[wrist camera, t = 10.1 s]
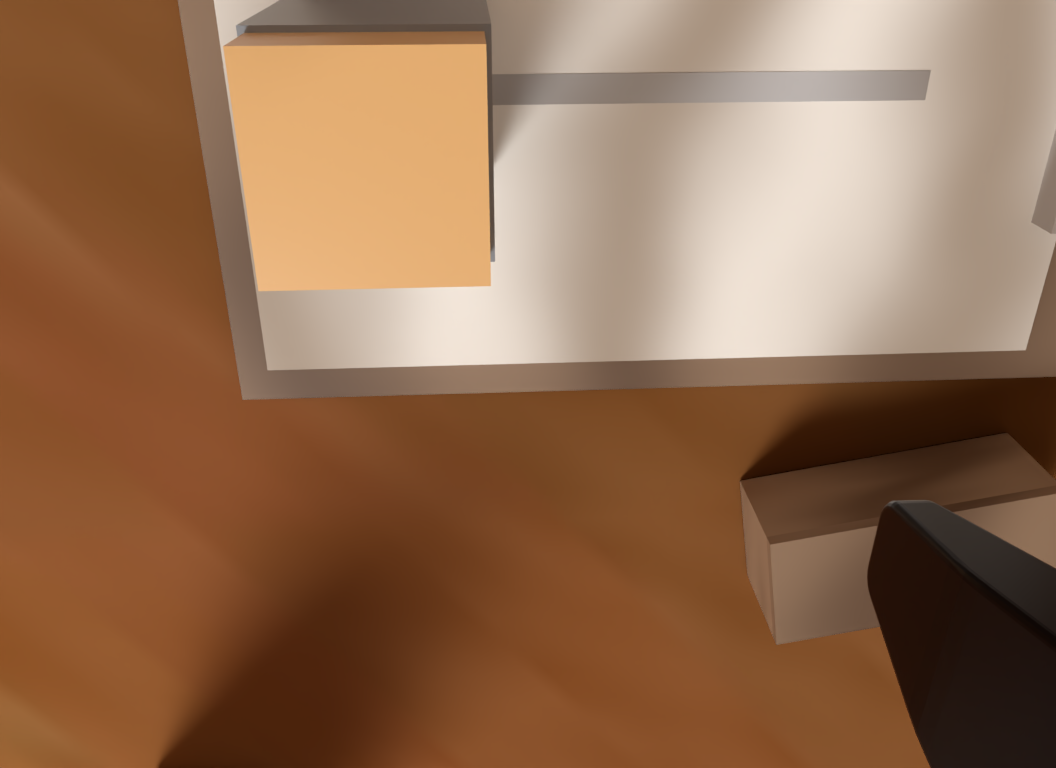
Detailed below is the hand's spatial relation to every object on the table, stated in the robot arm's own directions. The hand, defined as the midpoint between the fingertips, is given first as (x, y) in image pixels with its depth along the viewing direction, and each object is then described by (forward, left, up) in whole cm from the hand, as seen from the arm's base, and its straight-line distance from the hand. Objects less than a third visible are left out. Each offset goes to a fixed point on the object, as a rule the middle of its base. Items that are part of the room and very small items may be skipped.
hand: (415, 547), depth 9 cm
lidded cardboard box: (+1, -2, -12) cm, 13 cm away
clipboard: (-5, -2, -13) cm, 14 cm away
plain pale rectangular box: (-11, +9, -13) cm, 19 cm away
